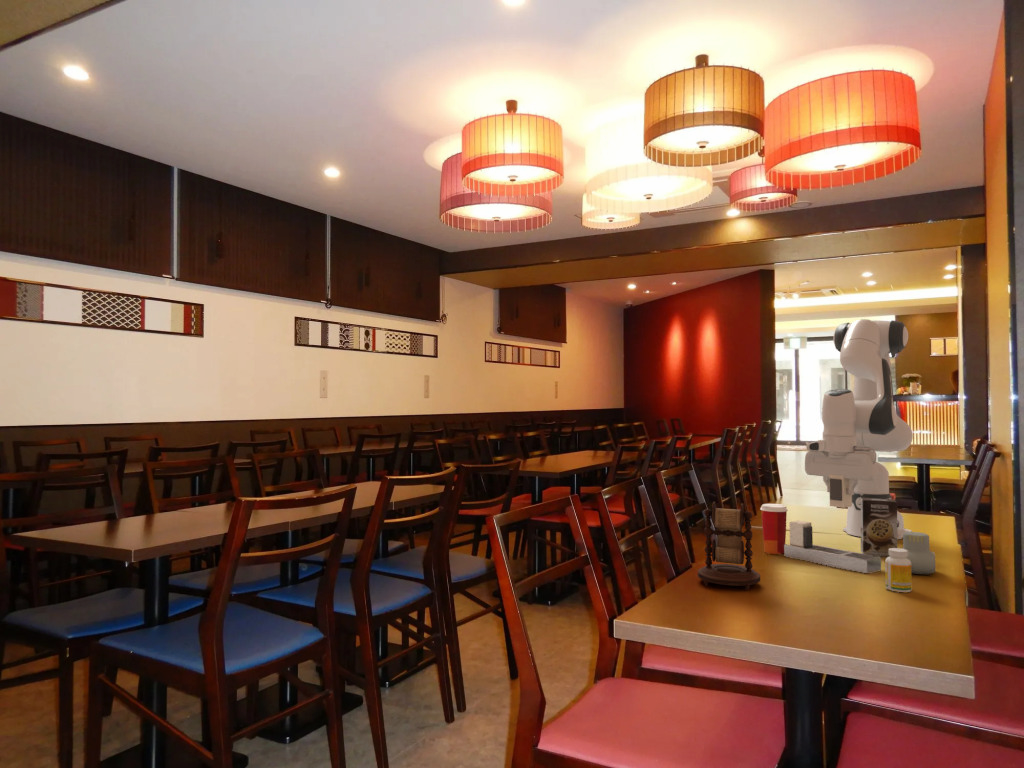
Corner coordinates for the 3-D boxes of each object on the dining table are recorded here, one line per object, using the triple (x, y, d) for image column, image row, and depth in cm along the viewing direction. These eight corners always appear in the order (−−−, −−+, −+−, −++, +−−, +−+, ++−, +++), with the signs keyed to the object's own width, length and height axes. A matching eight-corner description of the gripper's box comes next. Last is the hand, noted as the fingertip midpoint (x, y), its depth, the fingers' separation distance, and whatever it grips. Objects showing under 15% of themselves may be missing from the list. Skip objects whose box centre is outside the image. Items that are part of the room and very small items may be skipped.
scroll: (762, 579, 170) (761, 500, 171) (758, 594, 157) (756, 508, 157) (702, 573, 176) (701, 497, 177) (693, 587, 163) (692, 504, 163)
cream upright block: (837, 504, 196) (837, 473, 197) (851, 506, 193) (851, 475, 193) (828, 506, 194) (827, 474, 194) (842, 508, 190) (842, 476, 190)
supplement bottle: (880, 588, 162) (879, 547, 162) (898, 586, 163) (898, 546, 163) (898, 594, 156) (897, 552, 157) (917, 592, 158) (916, 551, 158)
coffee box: (862, 555, 196) (861, 499, 196) (860, 550, 202) (859, 496, 202) (898, 557, 192) (897, 501, 193) (895, 553, 198) (894, 498, 199)
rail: (798, 553, 198) (798, 519, 198) (881, 570, 178) (880, 532, 179) (784, 556, 194) (783, 522, 195) (867, 574, 174) (866, 535, 175)
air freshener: (899, 565, 183) (898, 529, 184) (934, 569, 179) (934, 531, 179) (898, 574, 174) (897, 536, 174) (935, 578, 170) (935, 539, 170)
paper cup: (783, 549, 203) (783, 503, 204) (791, 555, 196) (791, 507, 196) (757, 549, 204) (756, 503, 204) (764, 555, 196) (763, 507, 197)
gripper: (881, 446, 187) (882, 496, 187) (813, 443, 204) (814, 488, 204) (869, 448, 184) (871, 498, 183) (801, 444, 200) (802, 490, 200)
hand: (840, 493), depth 194 cm, fingers closed on cream upright block, 4 cm apart
